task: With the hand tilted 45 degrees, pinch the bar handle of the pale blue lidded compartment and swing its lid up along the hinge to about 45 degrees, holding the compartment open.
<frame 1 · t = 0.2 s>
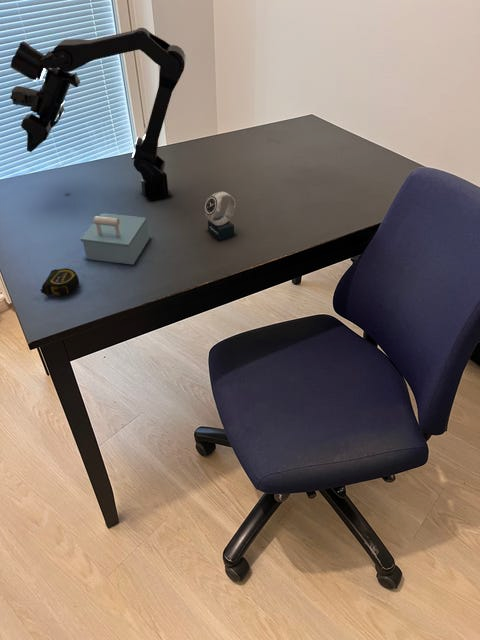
hand: (33, 144, 127), 15 cm above the table, tool tilted 30°, fingers open, 9 cm apart
compartment lid: (113, 220, 111), point 8 cm above the table, hinge at 0.0°
compartment: (119, 248, 117), on the table
tape measure: (61, 291, 104), on the table
watch: (220, 234, 123), on the table
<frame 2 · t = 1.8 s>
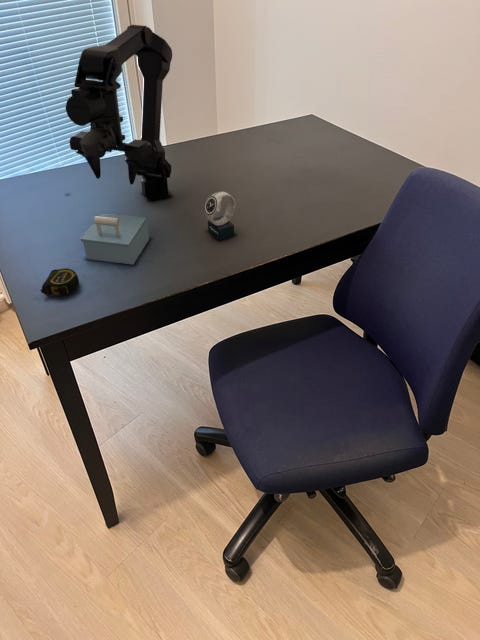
hand: (115, 181, 116), 13 cm above the table, tool pointing down, fingers open, 9 cm apart
nothing on the table moved.
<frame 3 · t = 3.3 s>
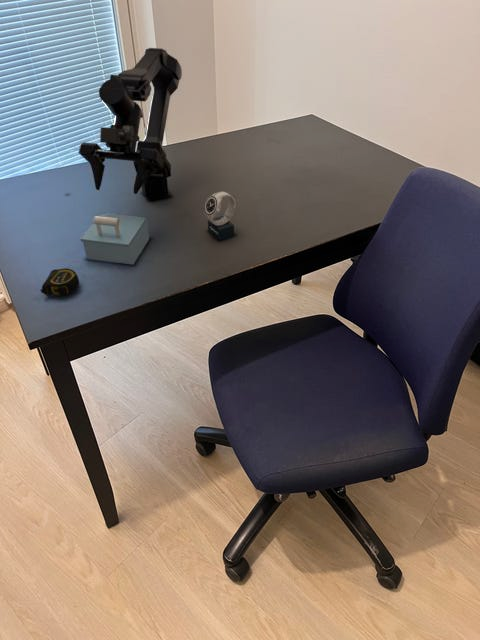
hand: (116, 191, 111), 13 cm above the table, tool tilted 45°, fingers open, 9 cm apart
nothing on the table moved.
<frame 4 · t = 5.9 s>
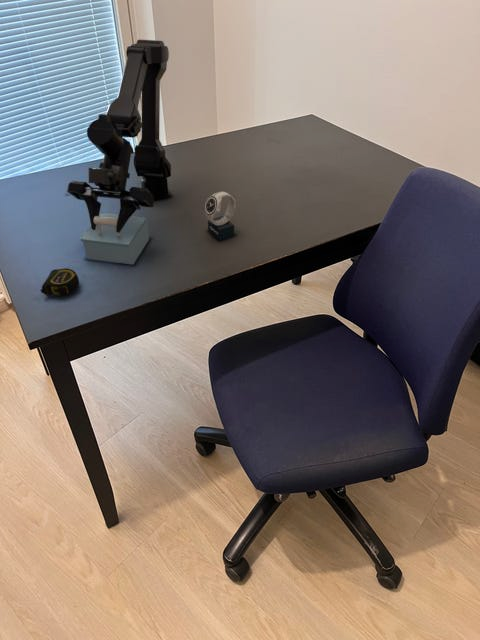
hand: (105, 230, 108), 8 cm above the table, tool tilted 45°, fingers closed on compartment lid, 5 cm apart
compartment lid: (113, 221, 111), point 8 cm above the table, hinge at 0.0°, touching gripper
everything else where it was.
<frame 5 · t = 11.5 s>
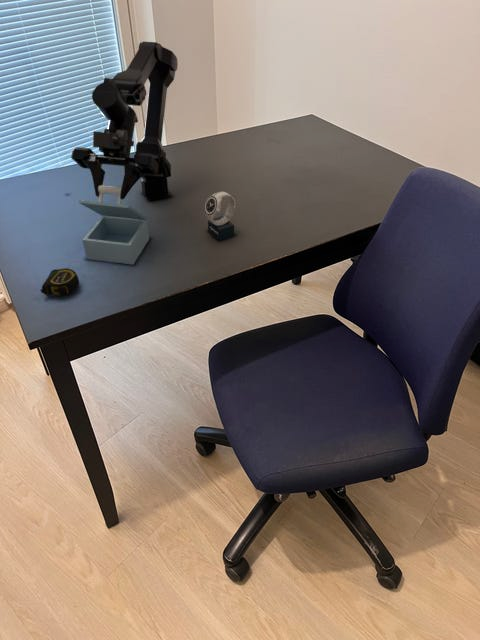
hand: (109, 197, 108), 14 cm above the table, tool tilted 45°, fingers closed on compartment lid, 5 cm apart
compartment lid: (115, 201, 111), point 11 cm above the table, hinge at 41.2°, touching gripper
everything else where it was.
at the end: compartment lid at +41° (first picture: +0°) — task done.
